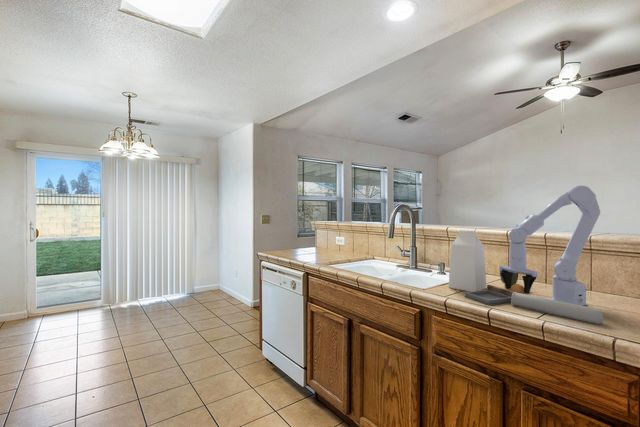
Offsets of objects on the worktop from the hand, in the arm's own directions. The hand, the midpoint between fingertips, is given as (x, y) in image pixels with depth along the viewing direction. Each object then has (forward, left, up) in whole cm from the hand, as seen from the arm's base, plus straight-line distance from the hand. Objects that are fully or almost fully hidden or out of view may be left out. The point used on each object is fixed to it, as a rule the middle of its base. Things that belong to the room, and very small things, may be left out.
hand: (517, 291), depth 127 cm
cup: (+12, -9, -2) cm, 15 cm away
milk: (+18, +9, -2) cm, 20 cm away
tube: (-21, +8, -3) cm, 22 cm away
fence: (0, +6, -2) cm, 6 cm away
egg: (0, 0, 0) cm, 1 cm away
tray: (0, +15, -2) cm, 15 cm away
